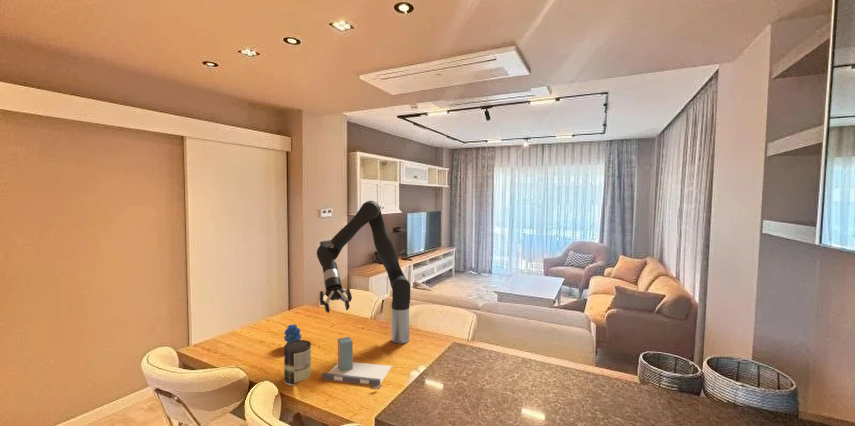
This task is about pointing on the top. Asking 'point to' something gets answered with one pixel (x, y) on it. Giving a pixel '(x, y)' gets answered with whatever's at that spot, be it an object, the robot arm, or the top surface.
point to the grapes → (292, 333)
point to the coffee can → (297, 361)
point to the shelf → (359, 374)
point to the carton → (345, 354)
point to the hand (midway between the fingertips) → (338, 310)
